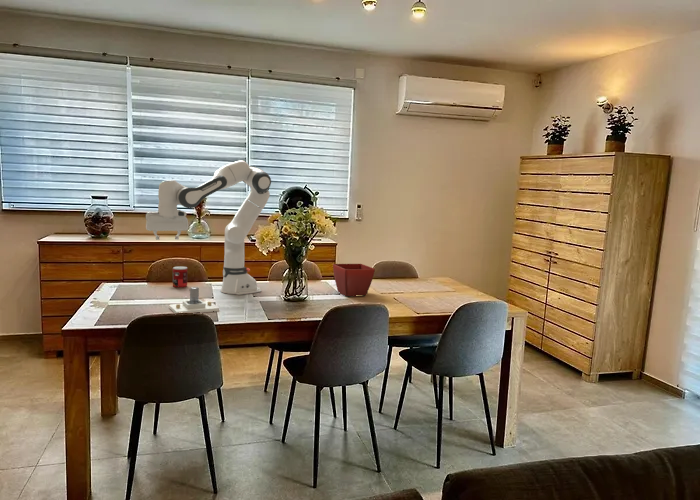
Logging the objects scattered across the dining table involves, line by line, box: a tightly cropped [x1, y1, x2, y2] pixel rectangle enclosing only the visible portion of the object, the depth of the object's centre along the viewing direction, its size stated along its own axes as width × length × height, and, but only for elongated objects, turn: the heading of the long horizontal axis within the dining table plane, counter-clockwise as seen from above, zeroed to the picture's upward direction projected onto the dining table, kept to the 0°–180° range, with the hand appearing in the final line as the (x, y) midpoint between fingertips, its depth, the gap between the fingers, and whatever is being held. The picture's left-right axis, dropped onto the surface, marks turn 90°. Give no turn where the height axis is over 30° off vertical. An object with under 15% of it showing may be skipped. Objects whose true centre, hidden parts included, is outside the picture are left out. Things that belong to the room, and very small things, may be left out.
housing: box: [168, 299, 220, 314], centre depth 237 cm, size 20×14×4 cm
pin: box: [189, 286, 200, 304], centre depth 237 cm, size 4×4×9 cm
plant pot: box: [332, 263, 376, 297], centre depth 289 cm, size 19×19×17 cm
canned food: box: [172, 265, 188, 289], centre depth 283 cm, size 8×8×11 cm
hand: (167, 239), depth 249 cm, fingers open, 8 cm apart
